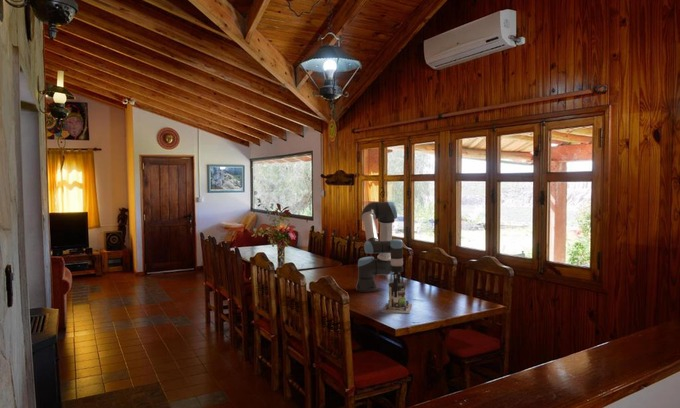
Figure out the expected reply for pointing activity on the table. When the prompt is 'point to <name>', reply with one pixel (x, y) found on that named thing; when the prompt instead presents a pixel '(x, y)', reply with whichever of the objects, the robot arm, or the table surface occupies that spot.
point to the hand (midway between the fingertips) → (397, 299)
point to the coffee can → (400, 296)
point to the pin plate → (391, 310)
